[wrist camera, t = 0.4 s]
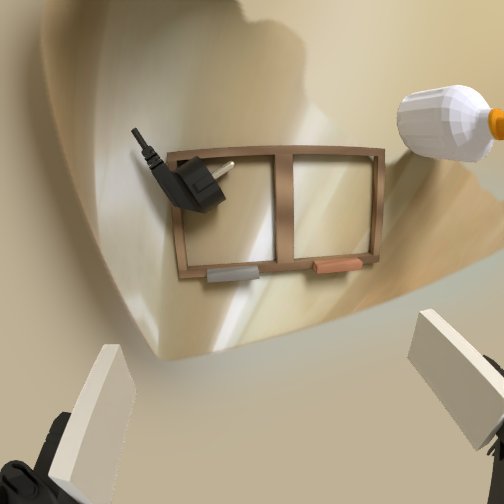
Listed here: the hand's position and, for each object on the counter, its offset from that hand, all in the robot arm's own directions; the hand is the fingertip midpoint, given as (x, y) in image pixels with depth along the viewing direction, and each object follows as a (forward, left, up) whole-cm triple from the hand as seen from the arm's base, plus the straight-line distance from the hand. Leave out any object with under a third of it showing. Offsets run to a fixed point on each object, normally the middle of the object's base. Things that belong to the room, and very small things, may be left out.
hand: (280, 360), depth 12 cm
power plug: (-13, -9, -23) cm, 28 cm away
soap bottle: (-13, +25, -26) cm, 38 cm away
